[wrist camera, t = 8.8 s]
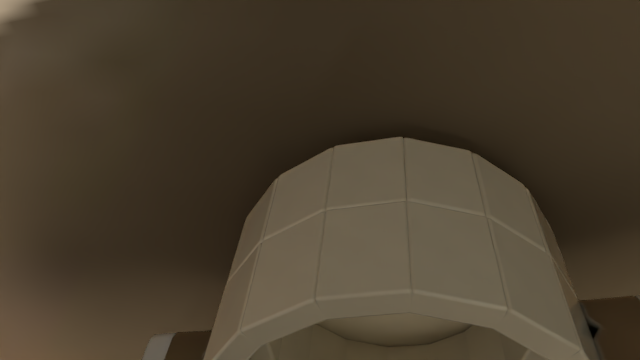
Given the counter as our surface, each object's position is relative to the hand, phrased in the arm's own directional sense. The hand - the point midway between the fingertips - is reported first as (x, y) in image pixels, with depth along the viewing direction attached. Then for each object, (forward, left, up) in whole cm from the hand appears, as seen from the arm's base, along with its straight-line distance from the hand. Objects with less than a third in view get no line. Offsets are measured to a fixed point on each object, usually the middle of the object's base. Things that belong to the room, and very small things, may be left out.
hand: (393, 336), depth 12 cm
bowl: (0, 0, -2) cm, 2 cm away
